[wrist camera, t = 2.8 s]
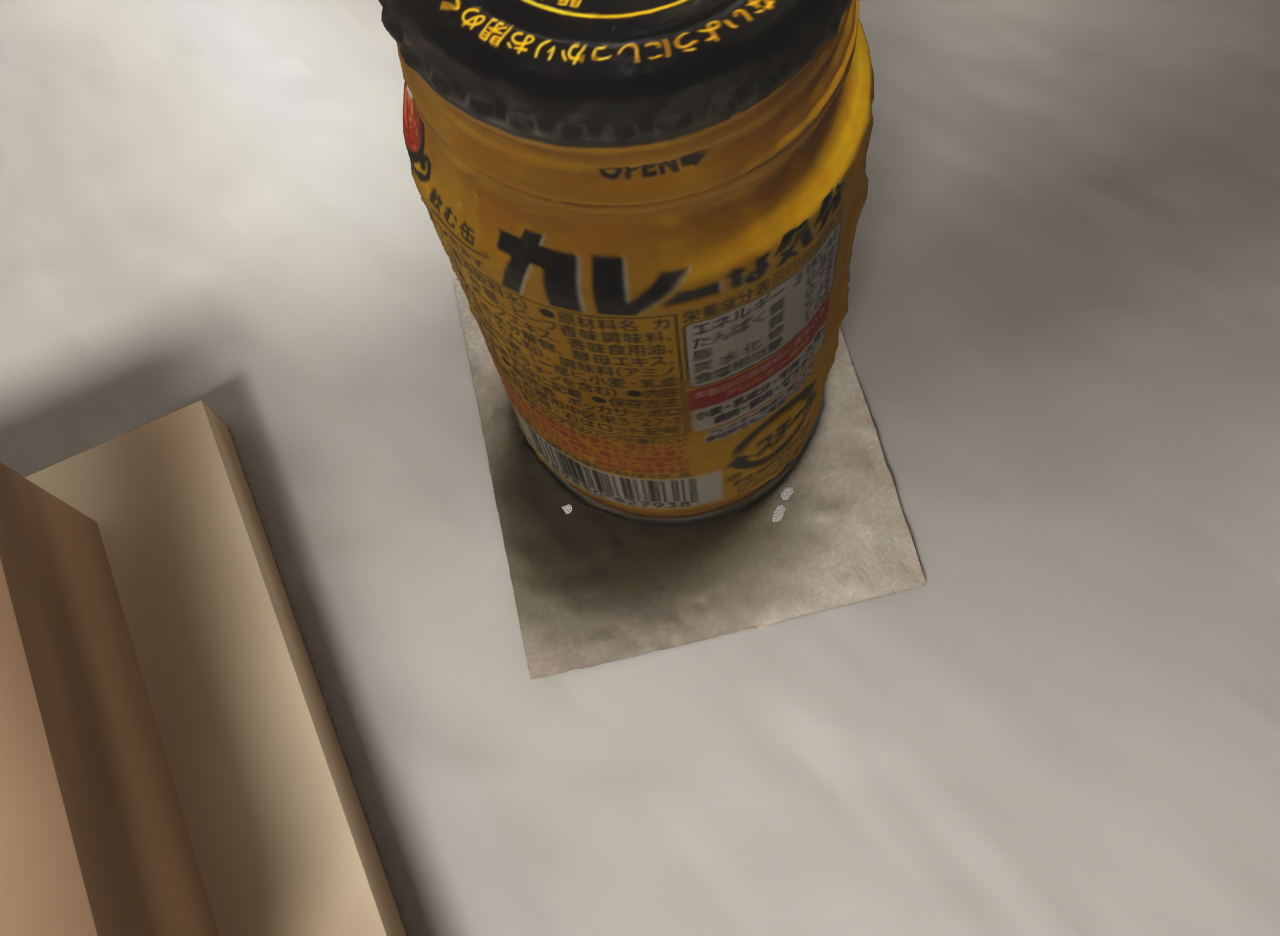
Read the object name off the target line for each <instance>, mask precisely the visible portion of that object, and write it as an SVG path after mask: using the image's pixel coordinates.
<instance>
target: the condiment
mask: <svg viewBox="0 0 1280 936" xmlns="http://www.w3.org/2000/svg"><path fill="white" fill-rule="evenodd" d="M379 2H380V4H381V5H382V7H383V10H382V22H383V24H384V27H385V28H386V30H387V31H388V32H389V33H390V35H391V36H392V37H393V38H394V39H395V40H396V42H397V47H398V54H399V58H400V61H401V67H402V72H403V77H404V80H405V84H404V99H403V133H404V138H405V143H406V147H407V150H408V154H409V157H410V161H411V172H412V176H413V178H414V180H415V183H416V186H417V188H418V191H419V193H420V195H421V199H422V201H423V202H424V204H425V205H426V207H427V209H428V212H429V215H430V218H431V220H432V222H433V224H434V227H435V229H436V232H437V234H438V236H439V238H440V240H441V242H442V245H443V247H444V249H445V251H446V253H447V255H448V256H449V258H450V262H451V264H452V269H453V270H454V272H455V273H456V275H457V277H458V279H457V280H453V282H454V287H455V293H456V298H457V303H458V308H459V312H460V317H461V322H462V327H463V332H464V337H465V342H466V347H467V352H468V357H469V362H470V367H471V372H472V378H473V383H474V388H475V392H476V397H477V402H478V408H479V413H480V418H481V424H482V430H483V434H484V438H485V443H486V449H487V455H488V460H489V466H490V473H491V476H492V481H493V488H494V494H495V499H496V505H497V509H498V512H499V517H500V523H501V528H502V533H503V538H504V545H505V550H506V554H507V559H508V563H509V569H510V576H511V580H512V584H513V589H514V594H515V600H516V606H517V611H518V616H519V623H520V629H521V634H522V638H523V643H524V648H525V653H526V658H527V663H528V669H529V674H530V679H536V678H541V677H545V676H550V675H554V674H558V673H563V672H566V671H570V670H573V669H582V668H587V667H592V666H596V665H599V664H603V663H607V662H612V661H616V660H621V659H625V658H629V657H634V656H638V655H641V654H645V653H649V652H652V651H655V650H661V649H667V648H673V647H677V646H680V645H685V644H689V643H692V642H696V641H700V640H705V639H709V638H713V637H717V636H721V635H725V634H729V633H733V632H737V631H741V630H745V629H750V628H756V627H757V628H758V627H759V626H767V625H770V624H773V623H775V622H779V621H782V620H786V619H789V618H793V617H797V616H800V615H803V614H809V613H813V612H817V611H821V610H825V609H830V608H835V607H839V606H843V605H848V604H852V603H856V602H859V601H862V600H866V599H870V598H873V597H877V596H881V595H885V594H889V593H893V592H897V591H902V590H906V589H909V588H914V587H918V586H922V585H926V581H925V578H924V575H923V572H922V569H921V566H920V563H919V560H918V557H917V553H916V549H915V546H914V543H913V540H912V537H911V534H910V531H909V529H908V526H907V523H906V521H905V518H904V515H903V512H902V509H901V506H900V503H899V500H898V496H897V492H896V489H895V486H894V482H893V480H892V477H891V474H890V472H889V470H888V467H887V465H886V462H885V459H884V455H883V452H882V449H881V445H880V442H879V438H878V435H877V432H876V429H875V426H874V424H873V422H872V419H871V416H870V413H869V409H868V406H867V403H866V401H865V398H864V395H863V392H862V389H861V387H860V384H859V381H858V378H857V376H856V373H855V370H854V367H853V364H852V361H851V358H850V355H849V352H848V350H847V346H846V343H845V340H844V337H843V334H842V331H841V328H840V324H841V321H842V319H843V318H844V316H845V314H846V313H847V311H848V301H847V297H848V283H849V265H850V259H851V254H852V245H853V240H854V236H855V230H856V225H857V222H858V219H859V216H860V213H861V211H862V208H863V205H864V203H865V200H866V197H867V189H868V178H867V176H866V174H865V167H866V152H867V149H868V145H869V140H870V135H871V131H872V126H873V116H872V107H871V105H872V102H873V99H874V75H873V68H872V65H871V60H870V50H869V46H868V43H867V40H866V37H865V34H864V30H863V27H862V25H861V22H860V20H859V18H858V17H859V0H379ZM787 487H793V491H794V493H793V494H792V495H791V496H790V498H789V500H785V501H783V500H782V498H781V496H780V495H781V493H782V491H783V490H784V489H785V488H787ZM567 504H570V505H571V506H572V512H571V513H570V514H566V513H565V512H564V510H563V509H562V508H561V507H563V506H565V505H567ZM781 504H783V505H784V507H785V508H786V509H785V513H784V515H783V518H782V520H781V521H778V522H773V521H772V517H773V513H774V511H775V509H776V508H777V507H778V506H779V505H781Z"/></svg>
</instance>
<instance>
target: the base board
mask: <svg viewBox="0 0 1280 936" xmlns="http://www.w3.org/2000/svg"><path fill="white" fill-rule="evenodd" d="M0 936H407V934H406V931H405V929H404V926H403V923H402V920H401V917H400V914H399V912H398V909H397V906H396V903H395V900H394V897H393V894H392V892H391V889H390V886H389V883H388V880H387V877H386V875H385V872H384V869H383V866H382V863H381V860H380V858H379V855H378V852H377V849H376V846H375V843H374V841H373V838H372V835H371V832H370V829H369V826H368V824H367V821H366V818H365V815H364V812H363V809H362V807H361V804H360V801H359V798H358V795H357V792H356V789H355V787H354V784H353V781H352V778H351V775H350V772H349V770H348V767H347V764H346V761H345V758H344V755H343V753H342V750H341V747H340V744H339V741H338V738H337V736H336V733H335V730H334V727H333V724H332V721H331V719H330V716H329V713H328V710H327V707H326V704H325V702H324V699H323V696H322V693H321V690H320V687H319V684H318V682H317V679H316V676H315V673H314V670H313V667H312V665H311V662H310V659H309V656H308V653H307V650H306V648H305V645H304V642H303V639H302V636H301V633H300V631H299V628H298V625H297V622H296V619H295V616H294V614H293V611H292V608H291V605H290V602H289V599H288V596H287V594H286V591H285V588H284V585H283V582H282V579H281V577H280V574H279V571H278V568H277V565H276V562H275V560H274V557H273V554H272V551H271V548H270V545H269V543H268V540H267V537H266V534H265V531H264V528H263V526H262V523H261V520H260V517H259V514H258V511H257V509H256V506H255V503H254V500H253V497H252V494H251V491H250V489H249V486H248V483H247V480H246V477H245V474H244V472H243V469H242V466H241V463H240V460H239V457H238V455H237V452H236V449H235V446H234V443H233V440H232V438H231V435H230V432H229V429H228V426H227V424H226V423H225V422H224V421H223V420H222V419H221V418H220V417H219V416H218V415H217V414H215V413H214V412H213V411H212V410H211V409H210V408H209V407H208V406H207V405H206V404H205V403H204V402H203V401H202V400H200V401H197V402H195V403H193V404H191V405H188V406H186V407H184V408H181V409H179V410H177V411H175V412H172V413H170V414H168V415H165V416H163V417H161V418H159V419H156V420H154V421H152V422H149V423H147V424H145V425H143V426H140V427H138V428H136V429H134V430H131V431H129V432H127V433H124V434H122V435H120V436H118V437H115V438H113V439H111V440H108V441H106V442H104V443H102V444H99V445H97V446H95V447H92V448H90V449H88V450H86V451H83V452H81V453H79V454H76V455H74V456H72V457H70V458H67V459H65V460H63V461H61V462H58V463H56V464H54V465H51V466H49V467H47V468H45V469H42V470H40V471H38V472H35V473H33V474H31V475H29V476H26V477H23V476H21V475H19V474H18V473H16V472H15V471H13V470H11V469H10V468H8V467H6V466H5V465H3V464H2V463H0Z"/></svg>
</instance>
